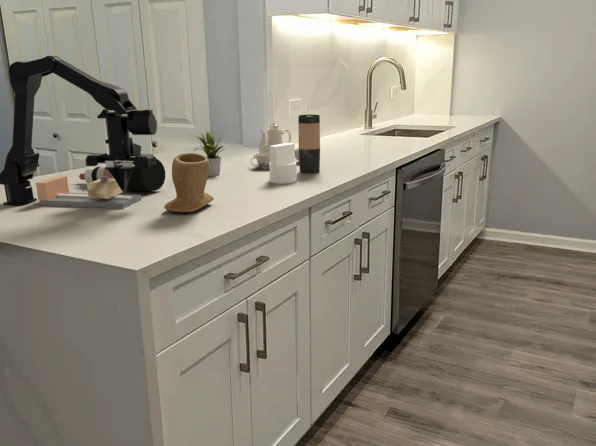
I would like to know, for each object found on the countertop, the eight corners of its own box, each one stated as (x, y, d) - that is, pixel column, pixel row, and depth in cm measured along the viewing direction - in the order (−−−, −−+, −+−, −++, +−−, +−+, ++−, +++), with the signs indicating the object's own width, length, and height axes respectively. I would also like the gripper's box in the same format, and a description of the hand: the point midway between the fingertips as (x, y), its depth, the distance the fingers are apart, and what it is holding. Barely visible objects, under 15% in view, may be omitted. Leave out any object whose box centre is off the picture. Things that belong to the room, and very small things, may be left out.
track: (39, 205, 154) (35, 182, 152) (60, 197, 163) (57, 175, 161) (123, 208, 148) (121, 185, 147) (141, 199, 158) (138, 177, 156)
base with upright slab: (283, 176, 187) (283, 142, 183) (302, 180, 181) (301, 144, 177) (264, 180, 181) (262, 145, 177) (282, 184, 175) (281, 147, 171)
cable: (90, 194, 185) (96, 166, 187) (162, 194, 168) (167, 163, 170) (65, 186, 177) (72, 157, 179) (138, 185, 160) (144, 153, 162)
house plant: (180, 175, 193) (177, 128, 188) (211, 169, 203) (208, 125, 198) (205, 180, 184) (202, 131, 179) (236, 173, 193) (234, 127, 189)
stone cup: (198, 217, 139) (194, 159, 134) (158, 214, 142) (153, 157, 138) (225, 203, 152) (222, 150, 148) (188, 200, 156) (184, 148, 152)
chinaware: (263, 176, 197) (265, 130, 191) (237, 165, 209) (237, 122, 203) (319, 166, 215) (322, 124, 209) (291, 157, 227) (293, 117, 221)
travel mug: (324, 171, 195) (324, 115, 189) (310, 174, 189) (309, 116, 184) (308, 169, 200) (308, 114, 194) (294, 172, 194) (293, 115, 189)
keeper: (88, 197, 151) (86, 179, 149) (104, 191, 158) (102, 174, 157) (108, 198, 150) (106, 180, 148) (122, 192, 157) (120, 174, 156)
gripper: (162, 131, 154) (167, 185, 158) (103, 131, 157) (109, 183, 162) (144, 136, 143) (149, 194, 148) (81, 135, 147) (87, 191, 151)
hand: (124, 190), depth 152 cm, fingers closed
